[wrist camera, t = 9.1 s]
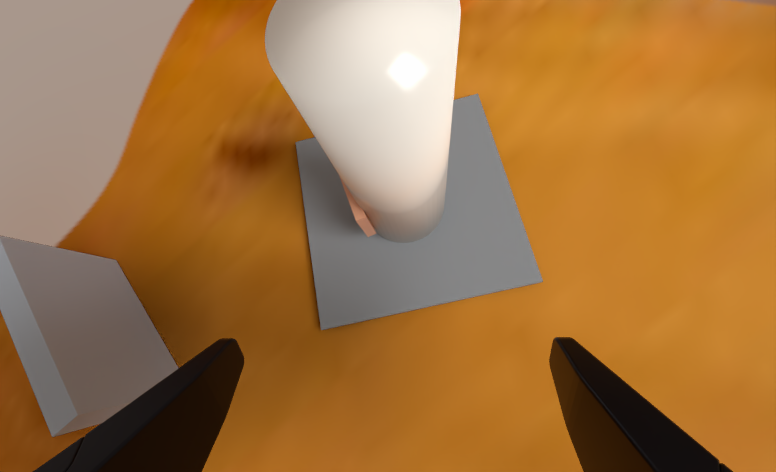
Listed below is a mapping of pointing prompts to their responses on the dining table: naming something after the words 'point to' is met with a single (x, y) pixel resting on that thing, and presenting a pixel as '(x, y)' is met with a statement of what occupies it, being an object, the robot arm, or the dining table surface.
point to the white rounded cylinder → (375, 100)
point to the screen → (78, 333)
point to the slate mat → (428, 255)
